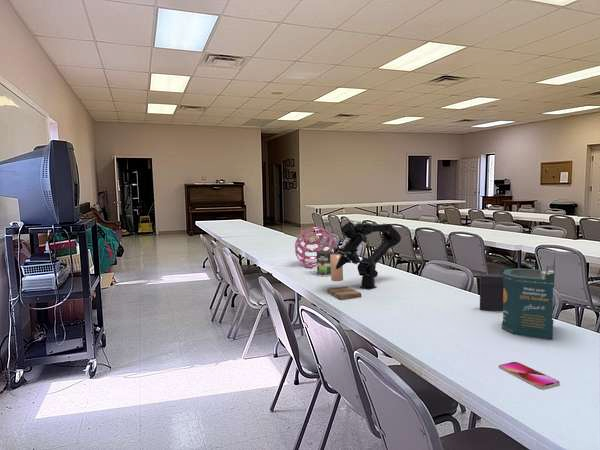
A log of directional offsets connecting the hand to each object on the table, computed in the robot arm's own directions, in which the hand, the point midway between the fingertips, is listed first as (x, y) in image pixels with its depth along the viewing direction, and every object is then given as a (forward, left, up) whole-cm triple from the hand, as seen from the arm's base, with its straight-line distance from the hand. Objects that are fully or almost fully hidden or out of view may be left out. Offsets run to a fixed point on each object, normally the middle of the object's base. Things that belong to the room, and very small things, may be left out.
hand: (334, 267), depth 209 cm
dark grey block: (-29, +68, -13) cm, 75 cm away
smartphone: (+21, +103, -14) cm, 106 cm away
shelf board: (-1, +6, -13) cm, 14 cm away
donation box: (-16, +87, -14) cm, 89 cm away
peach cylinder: (-1, 0, -7) cm, 7 cm away
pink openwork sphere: (-38, -59, -13) cm, 72 cm away
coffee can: (-25, -35, -13) cm, 46 cm away
